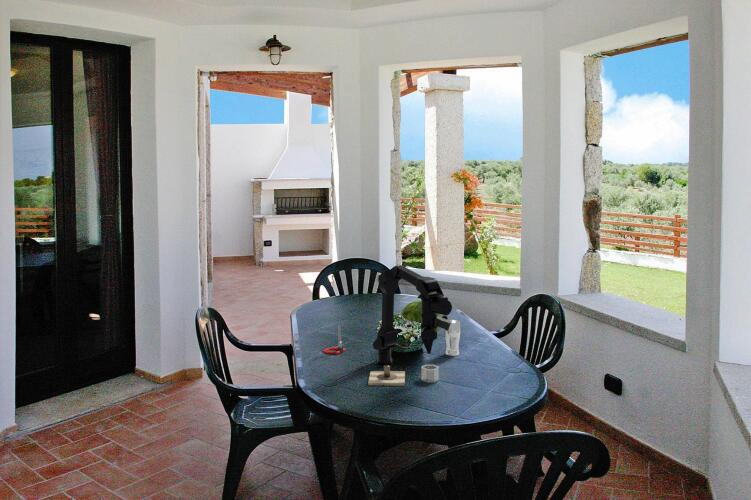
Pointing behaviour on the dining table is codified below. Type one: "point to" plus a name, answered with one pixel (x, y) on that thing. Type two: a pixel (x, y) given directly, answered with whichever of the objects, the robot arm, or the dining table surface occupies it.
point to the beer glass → (453, 338)
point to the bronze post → (386, 371)
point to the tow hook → (336, 347)
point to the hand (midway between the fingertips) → (429, 350)
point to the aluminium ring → (430, 373)
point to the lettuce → (414, 312)
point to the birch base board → (394, 380)
